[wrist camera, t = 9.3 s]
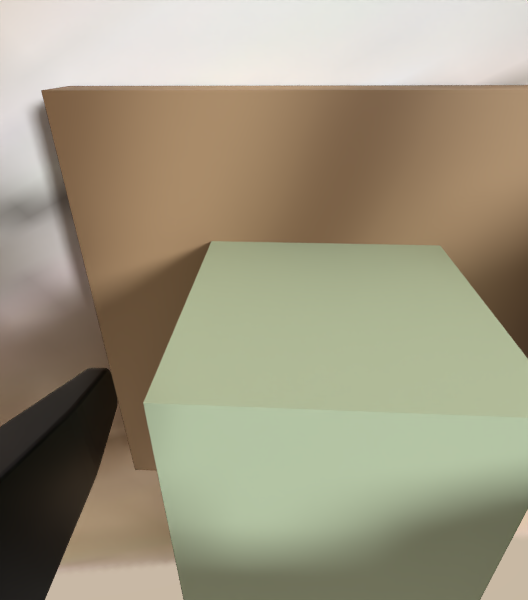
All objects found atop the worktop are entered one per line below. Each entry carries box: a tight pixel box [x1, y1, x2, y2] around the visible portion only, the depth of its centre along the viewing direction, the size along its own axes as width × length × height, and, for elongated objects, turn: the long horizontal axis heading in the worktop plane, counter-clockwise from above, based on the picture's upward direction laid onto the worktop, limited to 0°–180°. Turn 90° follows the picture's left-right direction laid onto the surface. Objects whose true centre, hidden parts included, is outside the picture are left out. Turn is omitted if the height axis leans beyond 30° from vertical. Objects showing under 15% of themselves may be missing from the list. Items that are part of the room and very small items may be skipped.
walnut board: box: [41, 85, 528, 470], centre depth 11 cm, size 11×11×1 cm
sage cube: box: [143, 241, 528, 600], centre depth 8 cm, size 5×5×5 cm
